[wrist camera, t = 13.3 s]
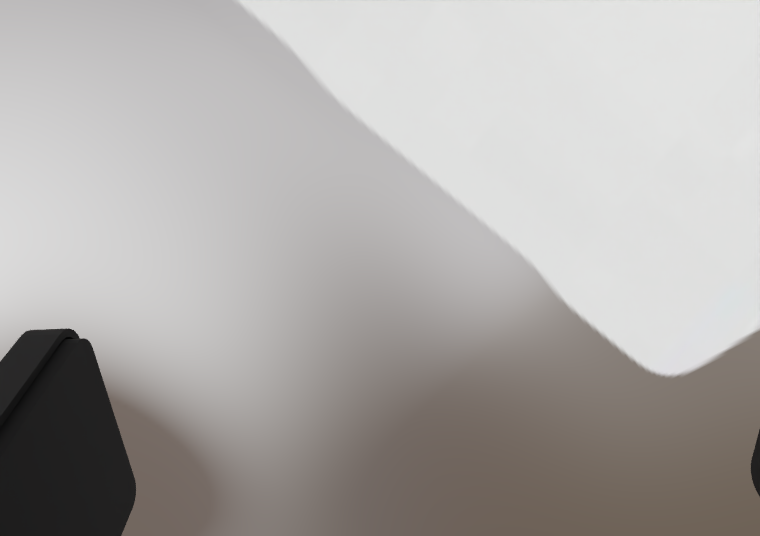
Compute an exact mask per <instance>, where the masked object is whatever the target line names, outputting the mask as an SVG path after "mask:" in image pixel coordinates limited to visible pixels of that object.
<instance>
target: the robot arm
mask: <svg viewBox="0 0 760 536" xmlns="http://www.w3.org/2000/svg"><path fill="white" fill-rule="evenodd" d="M751 474H752V480H753V483H754V486H755V488H756V491H757V492H758V494H759V496H760V430H759V434H758V438H757V442H756V445H755V450H754V453H753V457H752V461H751ZM135 495H136V483H135V478H134V475H133V472H132V469H131V466H130V463H129V460H128V456H127V454H126V450H125V447H124V444H123V441H122V438H121V435H120V431H119V428H118V425H117V422H116V419H115V416H114V413H113V410H112V407H111V404H110V400H109V398H108V394H107V391H106V388H105V385H104V382H103V379H102V376H101V373H100V369H99V366H98V363H97V360H96V357H95V354H94V351H93V348H92V346H91V343H90V342H89V341H88V340H87V339H80V338H79V336H78V334H77V333H76V332H75V331H74V330H72V329H46V330H30V331H26V332H25V333H24V334H23V335H22V336H21V337H20V338H19V339H18V340H17V342H16V343H15V344H14V345H13V347H12V348H11V349H10V350H9V352H8V353H7V354H6V356H5V357H4V358H3V359H2V360H1V362H0V536H121V534H122V532H123V530H124V527H125V525H126V522H127V520H128V518H129V515H130V513H131V510H132V508H133V505H134V501H135Z"/></svg>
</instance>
